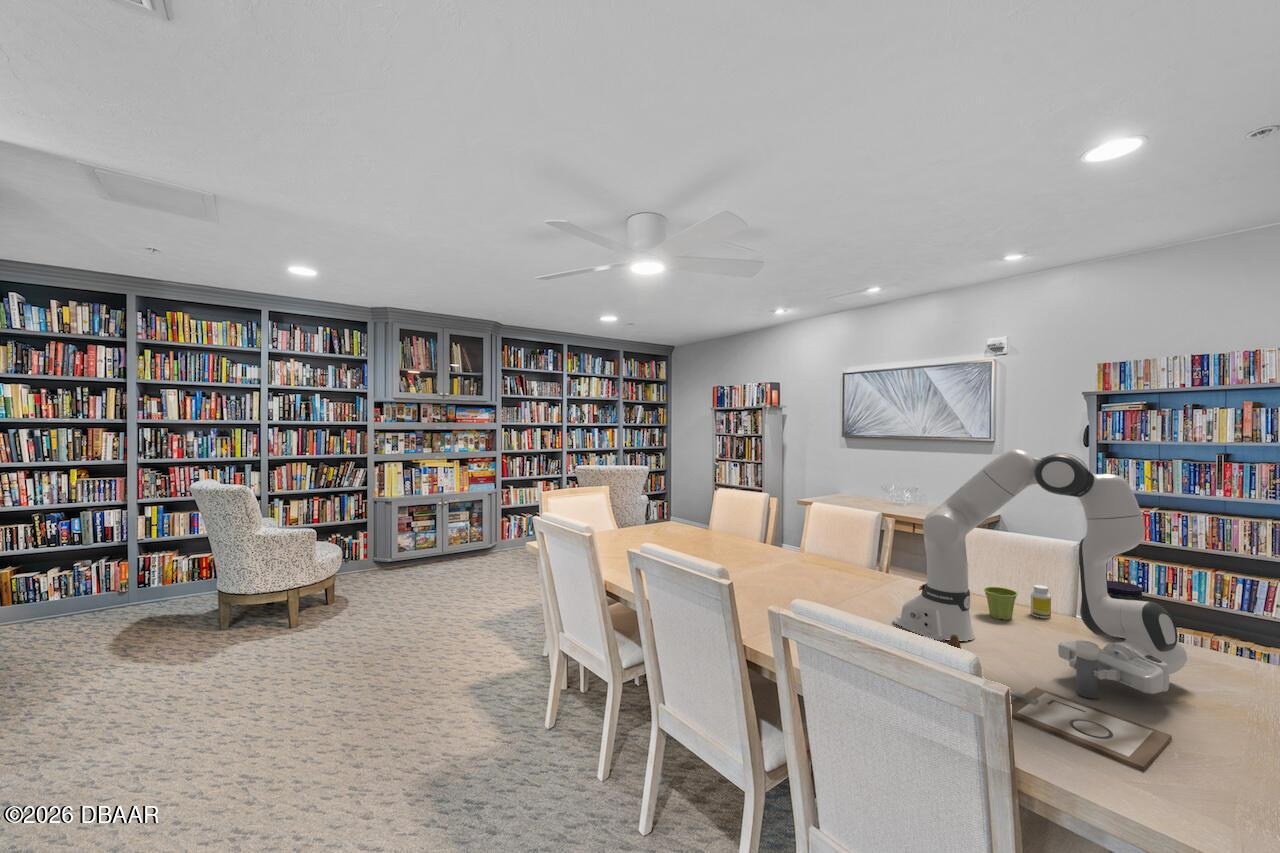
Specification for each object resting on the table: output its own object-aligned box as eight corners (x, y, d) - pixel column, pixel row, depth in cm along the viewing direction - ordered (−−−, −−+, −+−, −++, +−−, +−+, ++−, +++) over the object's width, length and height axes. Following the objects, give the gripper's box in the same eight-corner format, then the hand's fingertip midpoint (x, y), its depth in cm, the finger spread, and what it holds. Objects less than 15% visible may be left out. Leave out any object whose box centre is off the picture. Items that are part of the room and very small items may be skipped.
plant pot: (1005, 624, 172) (1004, 597, 172) (977, 614, 181) (977, 588, 181) (1024, 619, 175) (1024, 593, 175) (996, 610, 184) (996, 585, 184)
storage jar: (1104, 637, 161) (1104, 587, 161) (1095, 625, 170) (1095, 579, 170) (1148, 643, 156) (1148, 592, 156) (1136, 631, 165) (1136, 583, 165)
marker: (1072, 692, 128) (1072, 643, 128) (1079, 687, 130) (1079, 639, 130) (1094, 700, 125) (1094, 649, 124) (1101, 695, 127) (1101, 644, 127)
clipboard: (993, 710, 122) (993, 703, 122) (1028, 687, 131) (1028, 681, 131) (1143, 771, 100) (1143, 762, 100) (1171, 739, 110) (1171, 731, 110)
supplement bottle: (1054, 619, 176) (1054, 589, 175) (1035, 618, 177) (1035, 588, 176) (1045, 613, 181) (1045, 584, 181) (1027, 612, 182) (1027, 583, 182)
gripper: (1080, 632, 141) (1040, 638, 137) (1176, 667, 121) (1133, 675, 117) (1080, 656, 141) (1040, 663, 137) (1176, 694, 121) (1133, 704, 117)
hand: (1084, 669), depth 127 cm, fingers closed on marker, 4 cm apart
